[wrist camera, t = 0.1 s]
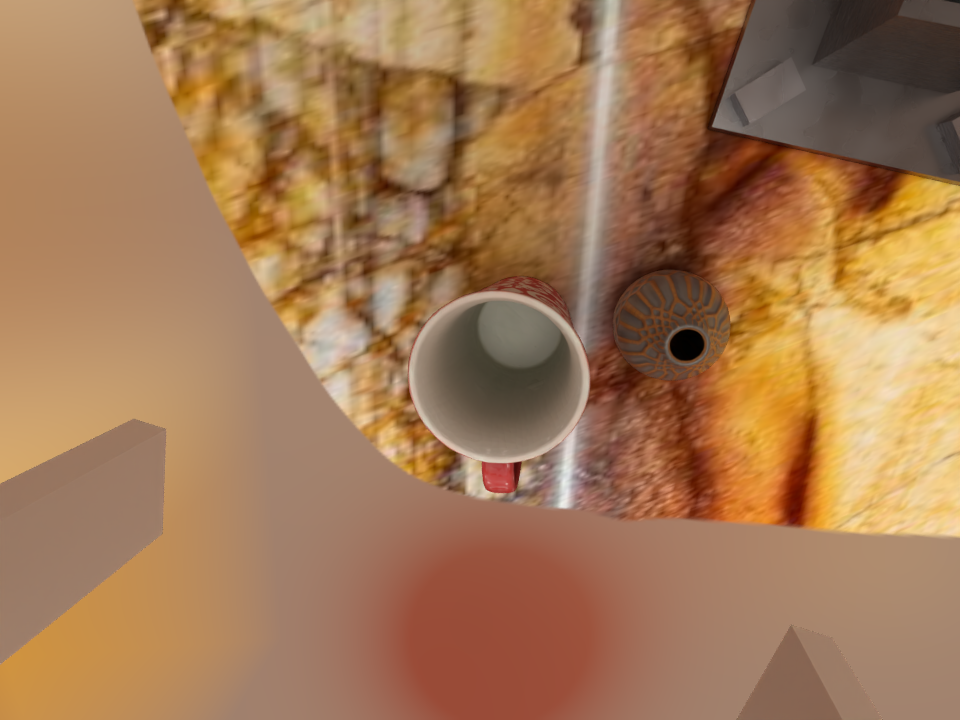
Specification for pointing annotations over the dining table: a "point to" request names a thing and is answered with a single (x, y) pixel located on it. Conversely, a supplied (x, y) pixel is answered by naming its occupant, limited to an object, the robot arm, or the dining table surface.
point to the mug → (500, 376)
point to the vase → (671, 325)
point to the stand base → (850, 82)
